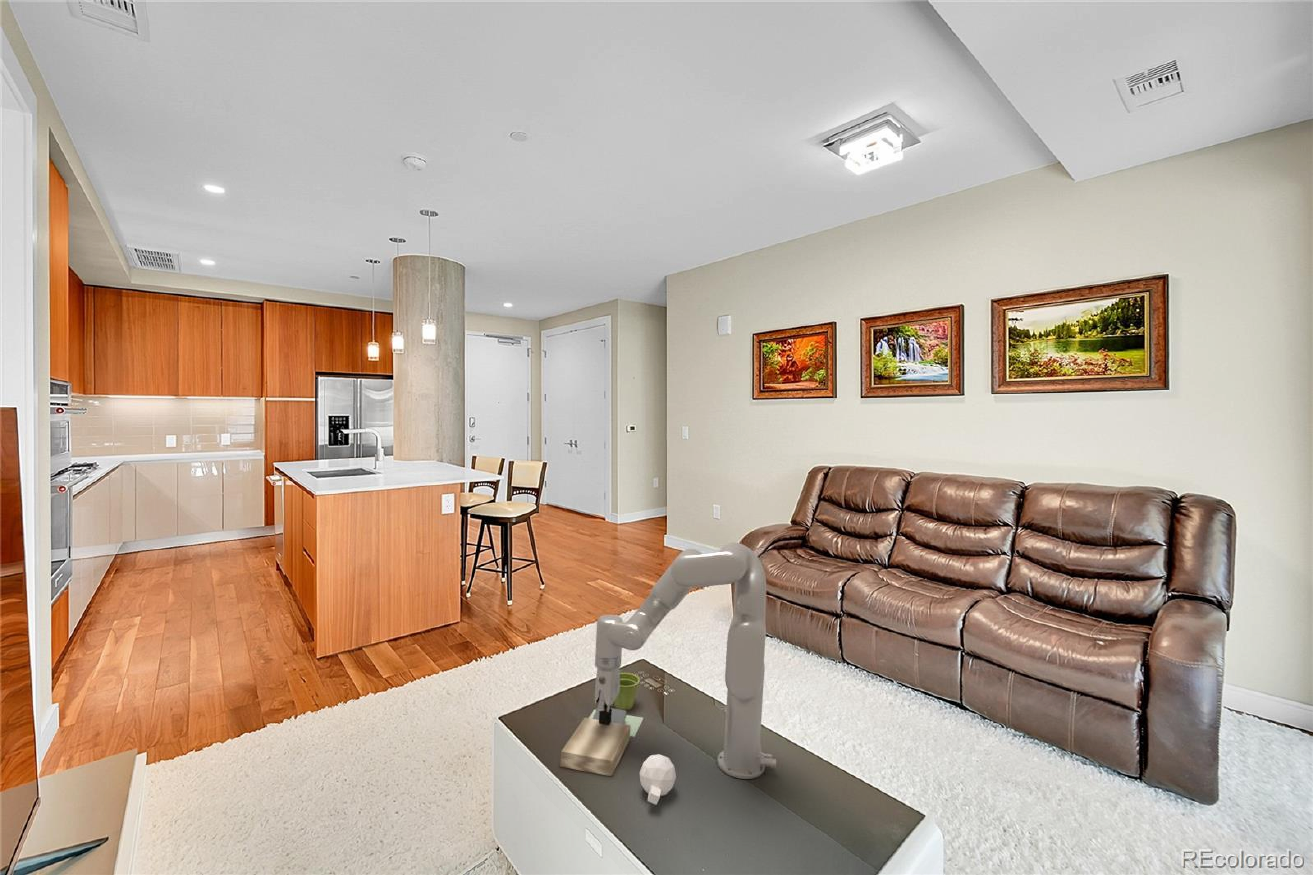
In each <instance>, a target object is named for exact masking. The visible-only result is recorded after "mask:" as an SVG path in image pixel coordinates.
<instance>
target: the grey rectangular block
mask: <svg viewBox="0 0 1313 875" xmlns="http://www.w3.org/2000/svg"><path fill="white" fill-rule="evenodd" d="M598 708H599V705H597V708H596V709H595V710H596V712H595V714H594V717H593V719H596V720H599V710H598ZM610 709H612V715H611V722H613V723H619V724H624V722H625V719H626V715H627V710H626V709H623V710H620V709H617V708H613V707H612V708H610Z"/></svg>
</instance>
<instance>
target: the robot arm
mask: <svg viewBox="0 0 1313 875" xmlns="http://www.w3.org/2000/svg"><path fill="white" fill-rule="evenodd" d="M731 584H734V595H733V598H734V599H733V612H732V619H731V622H730V624H729V625H730V626H729V628H728V632H727V640H726V654H725V655H726V656H725V672H724V681H725V686H726V689H727V690H726V694H727V695H726V706H725V707H726V709H725V725H724V742H723V750H722V751H721V752H719V754H718V755H717V765H718V767H719V769H720V770H721V771H722V772H724V773H725V774H726V775H728V776H730V777H733V778H736V779H740V780H741V779H744V780H749V779H755V778H758V777H760V776H761V775H763V773H764V772H765V768H766V767H765V766H768V767H771V768H777V759H776V758H773V755H772V754H770V753H764V752H763V751H762V746H761V736H762V735H761V733H762V732H761V731H762V717H763V716H762V712H763V699H764V698H763V697H764V685H765V683H764V682H765V669H766V668H765V651H766V648H765V647H766V637H767V626H766V612H767V579H766V573H765V569H764V566H763V564H762V562H761V560H760V558H759V557H758V555H757V554H756V553H755V552H754V551H753V550H752V549H751V548H749V547H748V546H746V545H744V544H743V543H739V542H730V543H727V544H724V545H723V546H722V547H721V548H720V550H719V551H717V552H710V553H702V552H701V551H700V550H698V549H695V548H687V549H684V550H682V551H681V552H680V553H679V555H677V557H676V558H675V559H673V562H672V563H671V564H670V565H669V566H668V568H667V569H666V570H665V572H664V573H663V574H662V576H660V578H659V579H658V580H657V581H656V582H655V584H654V585H653V587H652V588H651V591H650V593H649V595H648V596H647V597H646V599H645V600H644V601H643V603H641V605H640V606H639V607H638V609H637V610H636V611H635V612H634V613H633V614H632V616H631V617H630V618H628V620H627V621H623V618H622V617H621V616H619V615H617V614H603V615H601V616H599V617H598V618H597V621H596V635H595V636H596V637H595V652H594V666H595V668H597V669H596V676H595V685H594V687H595V688H594V702H595V704H596V705H597V704H598V706H599V708H598V710H599V724H603V725H610V723H611V715H612V709H610V708H613V704H614V701H615V699H616V698H617V696H618V694H619V691H620V673H621V667H622V654H623V653H622V651H623V649H625V650H628V651H637V650H640V649H641V648H642V647H643V646H644V645H645V643H646V642H647V641H648V639H649V637H650V636H651V635H652V633H654V630H655V629H656V628H657V627H658V626H659V624H660V623H661V622H662V621H663V620H664V618H665V617H666V616H667V615H668V614H669V613H670V611H672V610H675V609H676V608H677V607H678V606H679V604H680V603H681V602H682V601H683V600H684V598H686V596H687V595H688V593H689V592H690V591H691V590H692V589H693V588H703V587H705V588H706V587H714V586H724V585H731Z"/></svg>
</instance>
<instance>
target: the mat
mask: <svg viewBox="0 0 1313 875" xmlns="http://www.w3.org/2000/svg"><path fill="white" fill-rule="evenodd" d="M596 710H597V709H593V711H592V713H591V714H590V716H589V717H588V718H590V719H593V717H594V714H595V712H596ZM643 721H644V717H641V716H637V715H636V716H635V715H629V714H626V719H625V722H624V724H625V725H631V728H630V738H635V737H636V735H637V733H638V732H639V731H638V730H639V729H640V726H641V725H642V722H643Z"/></svg>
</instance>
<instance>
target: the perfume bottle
mask: <svg viewBox="0 0 1313 875" xmlns="http://www.w3.org/2000/svg"><path fill="white" fill-rule="evenodd" d="M639 779H640V785H641V786H642V788H643V789H644V791H645V792H646V793H647V794H648V795H647V802H649V803H651V804H653V805H657V804H658V802H659V800H660V798H661V796H666V795H667V794H668V793H669V792H670V791H671V790H672V789H673V788H674V787H673V786H674V785H675V781H676V779H677V775H676V769H675V766H674V764H673V763H672V761H671V759H670V758H669V757H667V756H665V755H662V754H660V753H658V754H652V755H649V757H647V758H646V759H645V760H644V762H643V763H642V766H641V767H640V771H639Z"/></svg>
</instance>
